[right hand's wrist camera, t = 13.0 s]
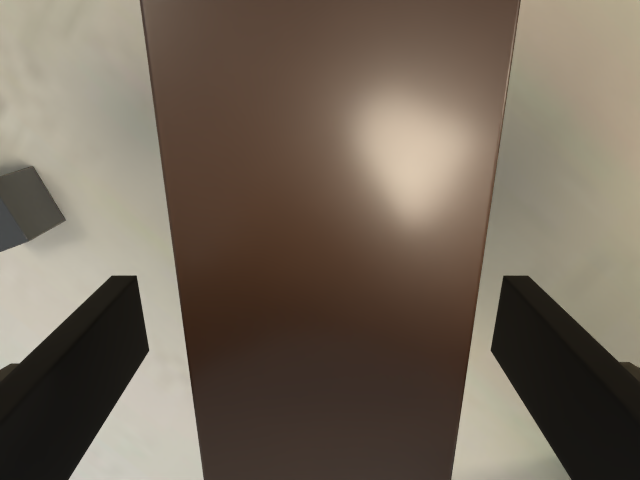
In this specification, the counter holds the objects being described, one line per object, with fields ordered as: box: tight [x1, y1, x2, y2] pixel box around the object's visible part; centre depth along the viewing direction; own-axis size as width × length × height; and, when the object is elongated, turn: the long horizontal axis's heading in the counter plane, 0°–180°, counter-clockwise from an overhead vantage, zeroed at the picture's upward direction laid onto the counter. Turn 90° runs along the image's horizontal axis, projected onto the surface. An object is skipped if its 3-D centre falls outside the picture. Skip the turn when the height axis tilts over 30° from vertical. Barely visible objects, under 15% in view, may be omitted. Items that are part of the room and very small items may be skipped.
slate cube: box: [0, 166, 65, 252], centre depth 27 cm, size 4×4×4 cm
